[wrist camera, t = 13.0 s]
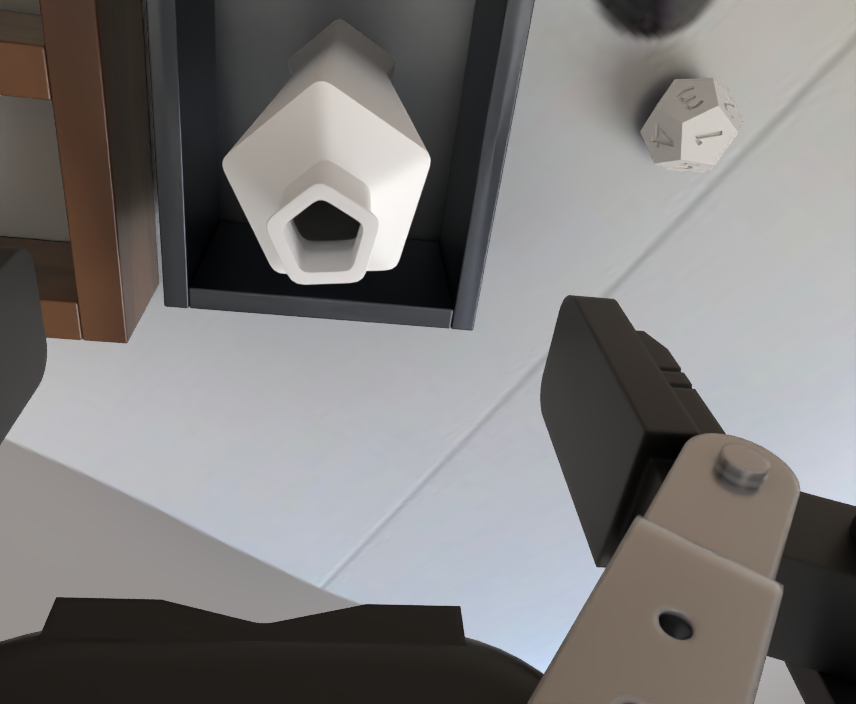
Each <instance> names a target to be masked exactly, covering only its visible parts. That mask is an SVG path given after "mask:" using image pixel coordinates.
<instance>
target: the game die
mask: <svg viewBox="0 0 856 704" xmlns="http://www.w3.org/2000/svg"><path fill="white" fill-rule="evenodd" d="M743 122H744V121H743V118H742V116H741V114H740V112H739V110H738V108H737V106H736V103H735V101H734V99H733V97H732V95H731V93H730V90H729V89H728V88H727V87H725V86H724V85H722V84H721V83H719V82H718V81H716V80H715V79H713V78H701V79H675V80H674V81H673V83H672V84H671V85H670V87H669V88H668V90H667V91H666V93H665V94H664V95H663V97H662V98H661V100H660V101H659V103H658V104H657V106H656V107H655V109H654V110H653V112H652V114H651V115H650V117H649V118H648V120H647V122H646V123H645V125H644V126H643V128H642V130H641V131H640V133H641V135H642V137H643V139H644V141H645V144H646V146H647V148H648V150H649V152H650V154H651V157H652V159H653V161H654V163H655V164H657V165H659V166H661V167H664V168H666V169H668V170H671V171H696V172H707V171H709V170H710V169H711V168H712V167H713V166H714V165H715V164H716V162H717V161H718V160H719V158H720V157H721V155H722V154H723V153H724V151H725V150H726V149H727V147H728V146H729V144H730V143H731V142H732V140H733V139H734V137H735V136H736V135H737V133H738V132H739V130H740V128H741V126H742V124H743Z"/></svg>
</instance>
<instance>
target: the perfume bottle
mask: <svg viewBox="0 0 856 704" xmlns="http://www.w3.org/2000/svg"><path fill="white" fill-rule="evenodd" d="M288 67H289V70H290V72H291V75H292V78H291V79H290V80H289V81H288V83H287V84H286V85H285V86H284V87H283V88H282V90H281V91H280V92H279V93H278V94H277V96H276V97H275V98H274V99H273V100H272V102H271V103H270V104H269V105H268V106H267V107H266V109H265V110H264V111H263V112H262V113H261V115H260V116H259V117H258V118H257V119H256V121H255V122H254V123H253V124H252V125H251V126H250V128H249V129H248V130H247V131H246V132H245V134H244V135H243V136H242V137H241V138H240V140H239V141H238V142H237V143H236V144H235V145H234V147H233V148H232V149H231V150H230V151H229V153H228V154H227V155H226V156H225V157H224V159H223V163H222V166H223V169H224V172H225V174H226V176H227V178H228V181H229V183H230V185H231V187H232V189H233V191H234V193H235V195H236V197H237V199H238V201H239V203H240V205H241V207H242V209H243V211H244V213H245V215H246V217H247V219H248V221H249V223H250V225H251V227H252V229H253V231H254V233H255V235H256V237H257V239H258V241H259V244H260V246H261V248H262V250H263V252H264V254H265V256H266V258H267V260H268V262H269V264H270V266H271V267H272V268H273V270H275V271H276V272H278V273H283V274H287V275H288V276H289V277H290V279H291V280H292V281H294V282H295V283H297V284H304V285H309V284H337V283H353V282H358V281H359V280H361V279H362V278H363V277H364V275H365V273H366V271H382V270H390V269H393V268H394V267H395V266H397V264H398V262H399V260H400V257H401V254H402V251H403V247H404V244H405V241H406V238H407V235H408V232H409V229H410V226H411V223H412V220H413V217H414V214H415V211H416V207H417V204H418V201H419V198H420V195H421V192H422V189H423V186H424V183H425V180H426V177H427V174H428V171H429V168H430V161H431V159H430V156H429V153H428V151H427V150H426V148H425V146H424V144H423V142H422V140H421V138H420V136H419V134H418V133H417V131H416V129H415V127H414V125H413V123H412V121H411V119H410V117H409V115H408V114H407V112H406V110H405V108H404V106H403V104H402V102H401V100H400V98H399V97H398V95H397V93H396V91H395V89H394V87H393V85H392V83H391V79H392V75H393V72H394V68H395V60H394V58H393V57H392V56H391V55H390V54H389V53H387V52H386V51H385V50H383V49H382V48H381V47H379V46H378V45H377V44H375V43H374V42H372V41H371V40H370V39H368V38H367V37H366V36H364V35H363V34H362V33H360V32H359V31H358V30H356V29H355V28H354V27H352V26H351V25H350V24H348V23H347V22H345V21H344V20H342V19H337V20H335V21H333V22H332V23H331V24H330V25H329V26H327V27H326V28H325V29H324V30H323V31H322V32H320V33H319V34H318V35H317V36H316V37H314V38H313V39H312V40H311V41H310V42H308V43H307V44H306V45H305V46H304V47H303V48H301V49H300V50H299V51H298V52H297V53H295V54H294V55H293V56H292V57H291V58H290V59H289V61H288Z"/></svg>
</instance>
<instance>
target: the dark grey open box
mask: <svg viewBox="0 0 856 704" xmlns="http://www.w3.org/2000/svg"><path fill="white" fill-rule="evenodd" d="M534 2H535V0H146V9H147V25H148V42H149V58H150V75H151V91H152V107H153V124H154V140H155V157H156V173H157V190H158V206H159V223H160V239H161V255H162V272H163V288H164V305H165V306H167V307H179V308H189V306H190V308H197V309H209V310H222V311H235V312H247V313H260V314H273V315H286V316H298V317H311V318H324V319H336V320H349V321H362V322H374V323H387V324H400V325H412V326H425V327H438V328H450V327H451V328H452V329H460V330H473V327H474V322H475V316H476V311H477V306H478V300H479V295H480V290H481V284H482V279H483V274H484V268H485V263H486V258H487V252H488V247H489V242H490V236H491V231H492V226H493V220H494V215H495V210H496V204H497V199H498V194H499V188H500V183H501V178H502V172H503V167H504V162H505V156H506V151H507V146H508V140H509V135H510V130H511V124H512V119H513V114H514V108H515V103H516V98H517V92H518V87H519V82H520V76H521V71H522V66H523V60H524V55H525V50H526V44H527V39H528V34H529V28H530V23H531V18H532V12H533V7H534ZM337 19H342V20H344V21H345V22H347V23H348V24H350V25H351V26H352V27H354V28H355V29H356V30H358V31H359V32H360V33H362V34H363V35H364V36H366V37H367V38H368V39H370V40H371V41H372V42H374V43H375V44H377V45H378V46H379V47H381V48H382V49H383V50H385V51H386V52H387V53H389V54H390V55H391V56H392V57H393V58H394V60H395V68H394V72H393V75H392V79H391V83H392V85H393V87H394V89H395V91H396V93H397V95H398V97H399V98H400V100H401V102H402V104H403V106H404V108H405V110H406V112H407V114H408V115H409V117H410V119H411V121H412V123H413V125H414V127H415V129H416V131H417V133H418V134H419V136H420V138H421V140H422V142H423V144H424V146H425V148H426V150H427V151H428V153H429V156H430V159H431V161H430V168H429V171H428V174H427V177H426V180H425V183H424V186H423V189H422V192H421V195H420V198H419V201H418V204H417V207H416V211H415V214H414V217H413V220H412V223H411V226H410V229H409V232H408V235H407V238H406V241H405V244H404V247H403V251H402V254H401V257H400V260H399V262H398V264H397V266H395V267H394V268H393V269H390V270H382V271H366V273H365V275H364V277H363V278H362V279H361V280H359V281H358V282H353V283H337V284H309V285H304V284H297V283H295V282H294V281H292V280H291V279H290V277H289V276H288V275H287V274H283V273H278V272H276V271H275V270H273V268H272V267H271V266H270V264H269V262H268V260H267V258H266V256H265V254H264V252H263V250H262V248H261V246H260V244H259V241H258V239H257V237H256V235H255V233H254V231H253V229H252V227H251V225H250V223H249V221H248V219H247V217H246V215H245V213H244V211H243V209H242V207H241V205H240V203H239V201H238V199H237V197H236V195H235V193H234V191H233V189H232V187H231V185H230V183H229V181H228V178H227V176H226V174H225V172H224V169H223V166H222V163H223V159H224V157H225V156H226V155H227V154H228V153H229V151H230V150H231V149H232V148H233V147H234V145H235V144H236V143H237V142H238V141H239V140H240V138H241V137H242V136H243V135H244V134H245V132H246V131H247V130H248V129H249V128H250V126H251V125H252V124H253V123H254V122H255V121H256V119H257V118H258V117H259V116H260V115H261V113H262V112H263V111H264V110H265V109H266V107H267V106H268V105H269V104H270V103H271V102H272V100H273V99H274V98H275V97H276V96H277V94H278V93H279V92H280V91H281V90H282V88H283V87H284V86H285V85H286V84H287V83H288V81H289V80H290V79H291V78H292V75H291V72H290V70H289V67H288V61H289V59H290V58H291V57H292V56H293V55H294V54H295V53H297V52H298V51H299V50H300V49H301V48H303V47H304V46H305V45H306V44H307V43H308V42H310V41H311V40H312V39H313V38H314V37H316V36H317V35H318V34H319V33H320V32H322V31H323V30H324V29H325V28H326V27H327V26H329V25H330V24H331V23H332V22H333V21H335V20H337Z"/></svg>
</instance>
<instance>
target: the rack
mask: <svg viewBox="0 0 856 704" xmlns="http://www.w3.org/2000/svg"><path fill="white" fill-rule="evenodd" d="M39 2H40V10H41V15H33V14H25V13H17V12H9V11H1V10H0V95H5V96H14V97H23V98H32V99H41V100H52V103H53V110H54V118H55V126H56V134H57V141H58V149H59V157H60V165H61V172H62V180H63V188H64V196H65V204H66V211H67V219H68V227H69V235H70V242H71V243H65V242H54V241H42V240H31V239H20V238H8V237H0V246H2V247H14V248H24V249H26V250H27V251H28V252H29V253H30V255H31V257H32V259H33V263H34V267H35V273H36V279H37V285H38V292H39V298H40V304H41V311H42V317H43V323H44V330H45V336H46V338H60V339H74V340H82V339H83V340H87V341H101V342H115V343H127V342H128V341H129V339H130V337H131V335H132V333H133V331H134V329H135V328H136V326H137V324H138V322H139V320H140V318H141V316H142V314H143V313H144V311H145V309H146V307H147V305H148V303H149V301H150V300H151V298H152V296H153V294H154V292H155V290H156V288H157V286H158V285H159V274H158V258H157V242H156V227H155V211H154V195H153V180H152V164H151V149H150V133H149V117H148V102H147V86H146V70H145V55H144V39H143V24H142V8H141V0H39Z"/></svg>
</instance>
